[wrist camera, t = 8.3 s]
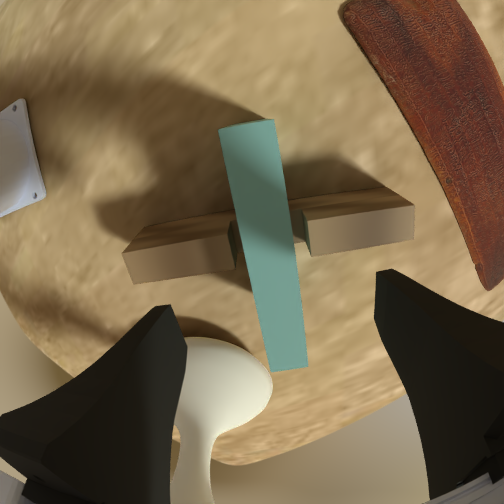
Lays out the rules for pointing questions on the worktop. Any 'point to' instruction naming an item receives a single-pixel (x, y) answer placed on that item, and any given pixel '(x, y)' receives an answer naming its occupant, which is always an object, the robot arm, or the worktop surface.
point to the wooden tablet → (446, 108)
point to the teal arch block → (266, 238)
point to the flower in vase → (213, 409)
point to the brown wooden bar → (303, 228)
